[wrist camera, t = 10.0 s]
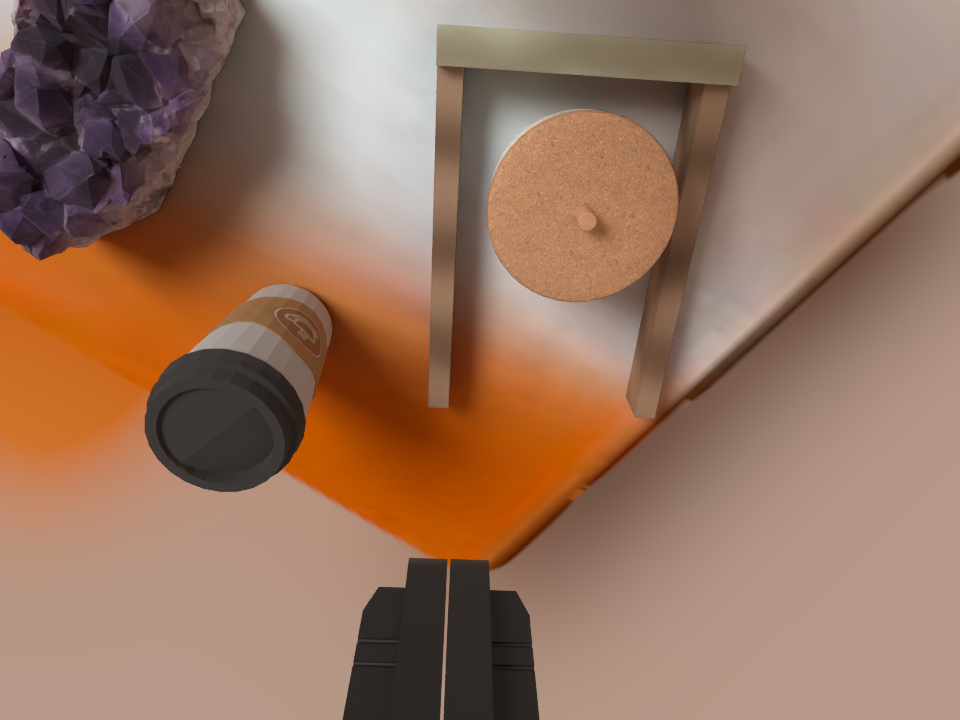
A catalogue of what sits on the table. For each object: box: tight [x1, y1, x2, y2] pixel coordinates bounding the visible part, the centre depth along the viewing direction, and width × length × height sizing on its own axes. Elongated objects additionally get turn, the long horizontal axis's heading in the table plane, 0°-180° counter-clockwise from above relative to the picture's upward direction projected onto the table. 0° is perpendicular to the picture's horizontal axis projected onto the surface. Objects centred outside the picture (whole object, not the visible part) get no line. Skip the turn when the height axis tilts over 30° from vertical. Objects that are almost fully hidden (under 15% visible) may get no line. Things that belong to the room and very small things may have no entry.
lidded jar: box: [487, 109, 679, 302], centre depth 37 cm, size 11×11×9 cm
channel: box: [428, 25, 747, 418], centre depth 41 cm, size 25×17×4 cm
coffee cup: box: [145, 284, 332, 492], centre depth 39 cm, size 8×8×15 cm
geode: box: [0, 0, 246, 260], centre depth 35 cm, size 20×12×10 cm, turn 150°
